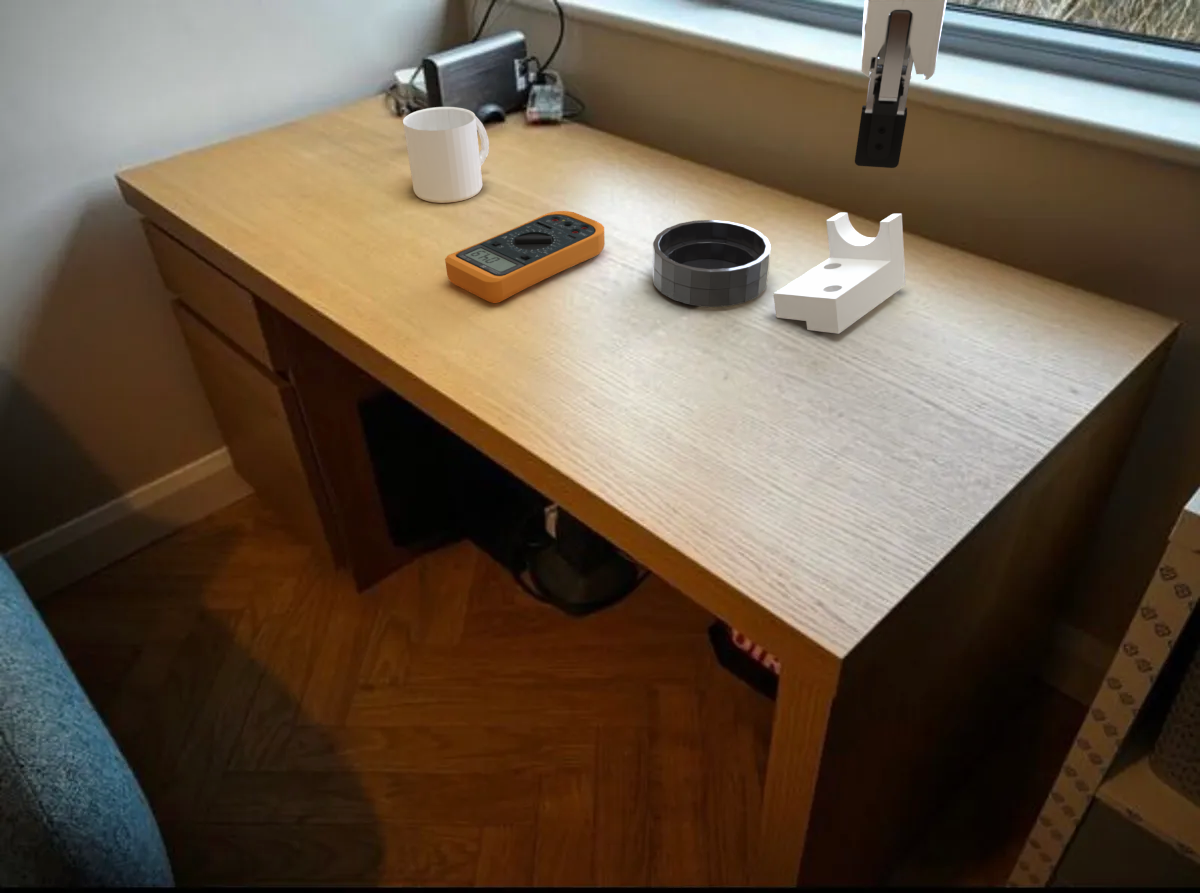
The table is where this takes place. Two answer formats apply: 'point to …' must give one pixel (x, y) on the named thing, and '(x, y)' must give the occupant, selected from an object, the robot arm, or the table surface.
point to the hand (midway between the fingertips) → (876, 162)
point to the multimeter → (525, 255)
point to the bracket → (846, 277)
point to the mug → (445, 153)
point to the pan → (711, 263)
